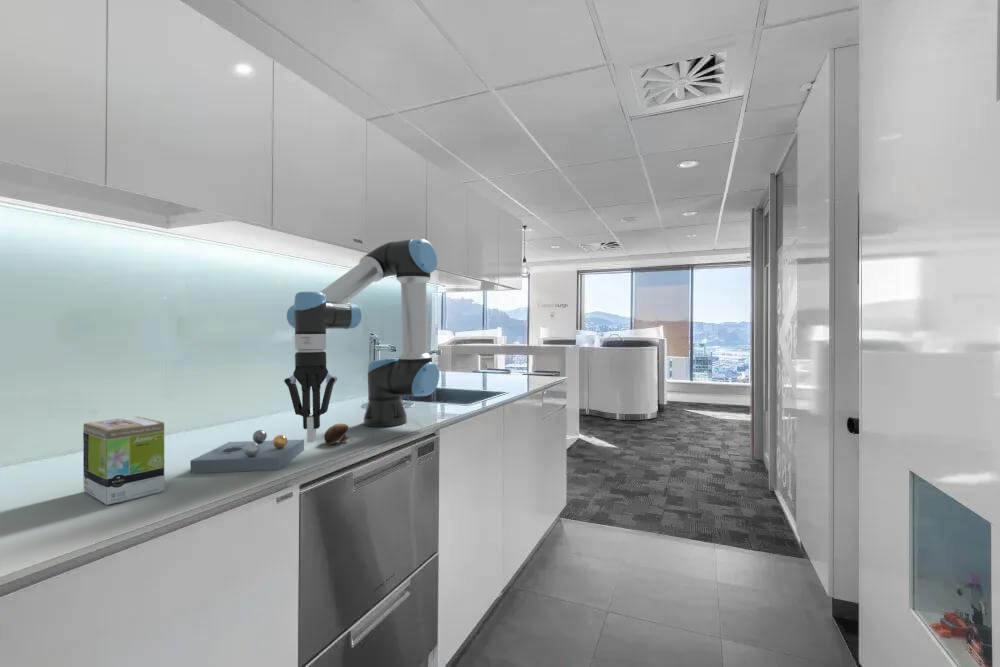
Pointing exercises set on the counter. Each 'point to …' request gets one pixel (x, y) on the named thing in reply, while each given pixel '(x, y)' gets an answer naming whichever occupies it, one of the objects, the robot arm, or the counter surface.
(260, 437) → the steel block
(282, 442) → the copper ball
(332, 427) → the mushroom
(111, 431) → the tea box
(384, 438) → the counter surface
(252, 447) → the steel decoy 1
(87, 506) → the counter surface
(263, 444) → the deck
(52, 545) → the counter surface
